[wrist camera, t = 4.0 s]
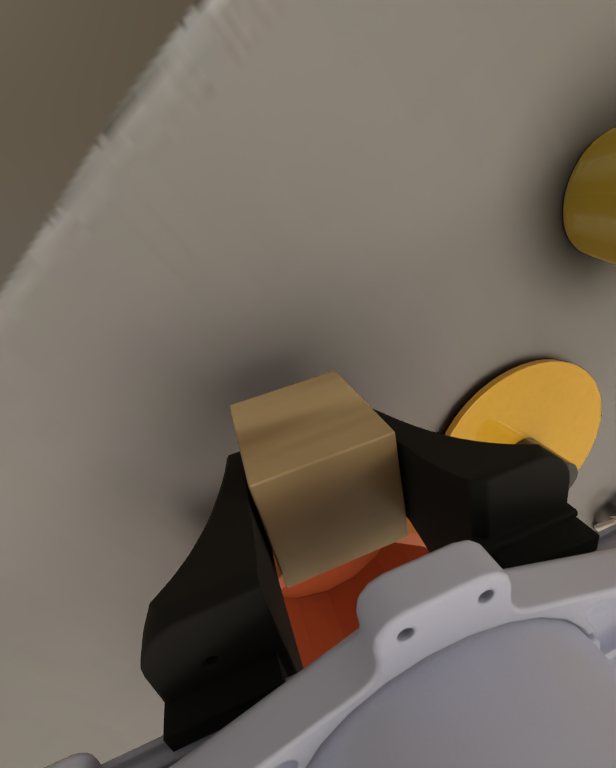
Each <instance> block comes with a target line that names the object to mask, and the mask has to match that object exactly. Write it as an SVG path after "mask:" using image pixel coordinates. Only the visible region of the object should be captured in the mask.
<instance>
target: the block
mask: <svg viewBox="0 0 616 768" xmlns="http://www.w3.org/2000/svg"><path fill="white" fill-rule="evenodd" d="M230 411H231V415H232V419H233V424H234V428H235V432H236V436H237V441H238V445H239V449H240V453H241V458H242V462H243V466H244V470H245V474H246V479H247V483H248V487H249V490H250V492H251V495H252V498H253V500H254V503H255V506H256V508H257V511H258V514H259V516H260V519H261V521H262V524H263V527H264V529H265V532H266V535H267V537H268V540H269V543H270V545H271V548H272V550H273V553H274V556H275V558H276V561H277V564H278V566H279V569H280V572H281V574H282V577H283V579H284V582H285V585H286V586H287V587H291V586H293V585H296V584H298V583H300V582H303V581H305V580H307V579H310V578H312V577H314V576H317V575H319V574H321V573H324V572H326V571H328V570H331V569H333V568H335V567H338V566H340V565H342V564H345V563H347V562H349V561H352V560H354V559H356V558H359V557H361V556H363V555H366V554H368V553H370V552H373V551H375V550H378V549H380V548H382V547H385V546H387V545H389V544H392V543H394V542H396V541H399V540H401V539H403V538H406V537H408V535H409V534H408V527H407V519H406V512H405V504H404V497H403V489H402V482H401V474H400V467H399V459H398V452H397V444H396V437H395V432H394V431H393V430H392V429H391V428H390V427H389V426H388V424H387V423H386V422H385V421H384V420H383V419H382V418H381V417H380V416H379V415H378V414H377V413H376V412H375V411H374V410H373V409H372V408H371V407H370V406H369V405H368V404H367V403H366V402H365V401H364V400H363V399H362V398H361V397H360V396H359V395H358V394H357V393H356V392H355V391H354V390H353V389H352V388H351V387H350V385H349V384H348V383H347V382H346V381H345V380H344V379H343V378H342V377H341V376H340V375H339V374H338V373H337V372H336V371H332V372H329V373H326V374H323V375H320V376H317V377H314V378H311V379H308V380H305V381H302V382H299V383H296V384H293V385H290V386H287V387H284V388H281V389H278V390H275V391H272V392H269V393H266V394H263V395H260V396H257V397H254V398H251V399H248V400H245V401H242V402H239V403H236V404H233V405H231V406H230Z"/></svg>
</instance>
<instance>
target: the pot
mask: <svg viewBox="0 0 616 768" xmlns="http://www.w3.org/2000/svg"><path fill="white" fill-rule="evenodd" d="M406 519H407V527H408V534H409V535H408V537H406V538H403V539H401V540H399V541H396V542H394V543H392V544H389V545H387V546H385V547H382V548H380V549H378V550H375V551H373V552H370V553H368V554H366V555H363V556H361V557H359V558H356V559H354V560H352V561H349V562H347V563H345V564H342V565H340V566H338V567H335V568H333V569H331V570H328V571H326V572H324V573H321V574H319V575H317V576H314V577H312V578H310V579H307V580H305V581H303V582H300V583H298V584H296V585H293V586H291V587H287V586H286V585H285V582H284V579H283V577H282V574H281V572H280V569H279V566H278V564H277V561H276V558H275V556H274V561H275V567H276V571H277V576H278V580H279V583H280V587H281V590H282V594H283V598H284V601H285V605H286V608H287V612H288V616H289V619H290V623H291V626H292V630H293V633H294V637H295V640H296V644H297V647H298V651H299V654H300V658H301V661H302V665H303V668H305V667H307V666H308V665H309V664H311V663H312V662H313V661H315V660H316V659H317V658H319V657H320V656H321V655H323V654H324V653H326V652H327V651H328V650H330V649H331V648H332V647H334V646H335V645H336V644H338V643H339V642H341V641H342V640H343V639H345V638H346V637H347V636H349V635H350V634H351V633H353V632H354V631H356V630H357V629H358V628H359V621H358V617H357V613H356V608H357V600H358V597H359V595H360V593H361V592H362V591H363V589H364V588H365V587H366V585H367V584H368V583H369V582H370V581H372V580H374V579H375V578H377V577H378V576H380V575H381V574H383V573H385V572H387V571H390V570H392V569H394V568H396V567H399V566H401V565H403V564H406V563H408V562H410V561H412V560H415V559H417V558H419V557H421V556H424V555H426V554H428V553H429V551H428V549H427V548H426V546H425V544H424V543H423V541H422V539H421V538H420V536H419V535H418V533H417V532H416V530H415V528H414V527H413V525H412V524H411V522H410V521H409V519H408V518H407V516H406ZM273 555H274V553H273Z"/></svg>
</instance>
